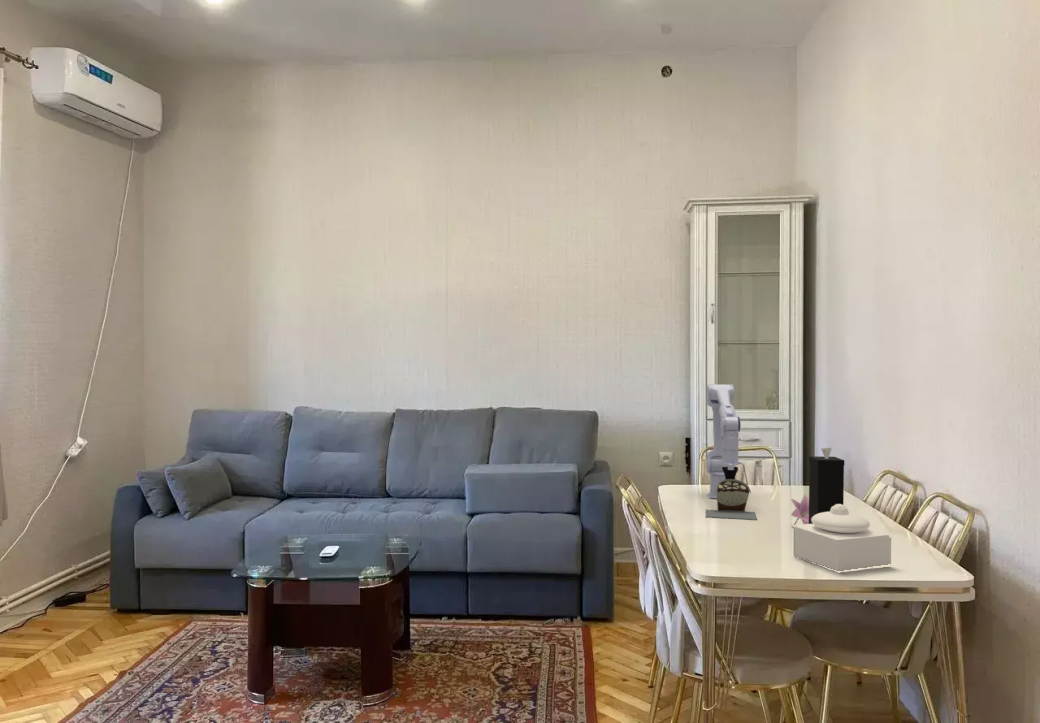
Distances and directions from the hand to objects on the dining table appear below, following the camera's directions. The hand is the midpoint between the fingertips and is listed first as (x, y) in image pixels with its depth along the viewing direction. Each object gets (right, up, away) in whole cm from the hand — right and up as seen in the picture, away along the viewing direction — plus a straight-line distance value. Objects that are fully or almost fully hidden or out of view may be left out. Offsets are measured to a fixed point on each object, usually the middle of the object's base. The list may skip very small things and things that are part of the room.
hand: (729, 487), depth 280 cm
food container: (0, -7, -1) cm, 7 cm away
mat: (-2, -8, -10) cm, 13 cm away
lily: (+17, -9, -28) cm, 34 cm away
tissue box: (+18, -9, -43) cm, 47 cm away
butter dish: (+12, -10, -68) cm, 70 cm away
